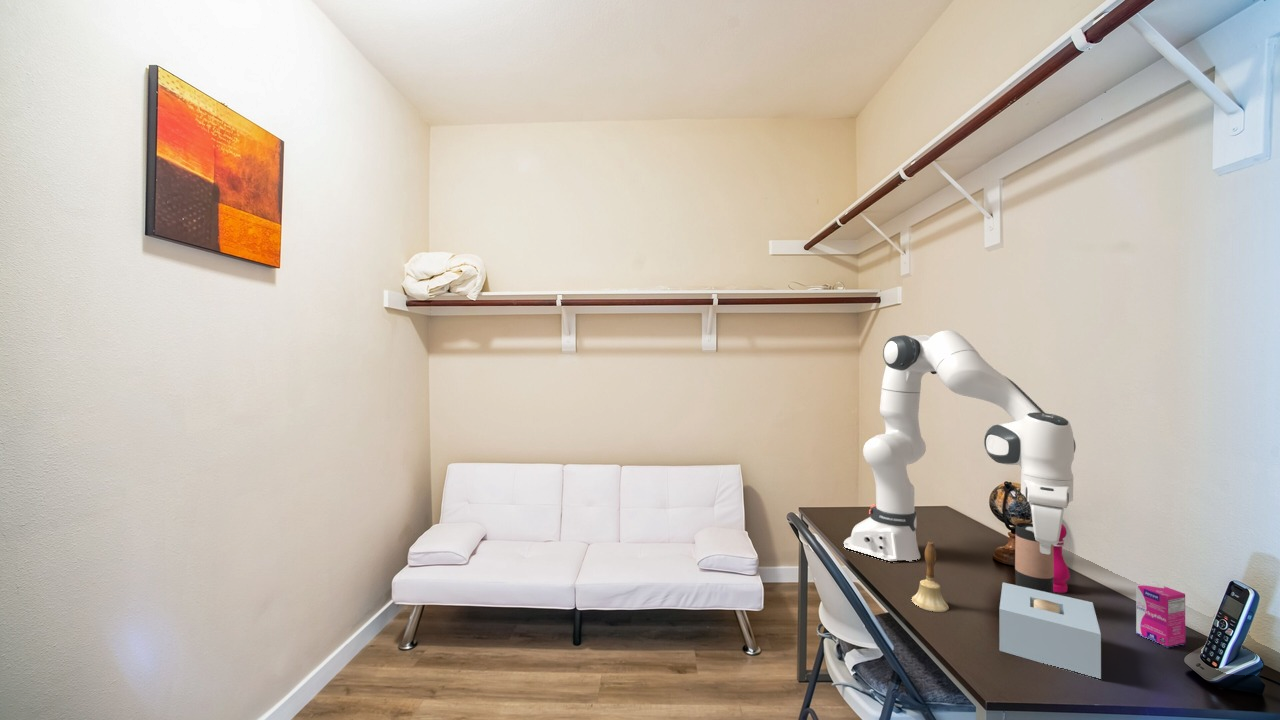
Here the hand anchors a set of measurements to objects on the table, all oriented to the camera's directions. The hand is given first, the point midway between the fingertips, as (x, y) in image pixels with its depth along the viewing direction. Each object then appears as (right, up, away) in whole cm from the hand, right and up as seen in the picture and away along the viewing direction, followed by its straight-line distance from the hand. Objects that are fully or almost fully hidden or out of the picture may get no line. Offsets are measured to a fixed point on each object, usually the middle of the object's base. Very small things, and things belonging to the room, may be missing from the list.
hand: (1045, 551), depth 108 cm
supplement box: (+28, -21, +2) cm, 35 cm away
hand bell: (-14, -21, +19) cm, 31 cm away
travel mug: (+12, -21, +18) cm, 30 cm away
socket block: (0, -21, 0) cm, 21 cm away
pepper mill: (+25, -21, +28) cm, 43 cm away
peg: (0, -19, 0) cm, 19 cm away
